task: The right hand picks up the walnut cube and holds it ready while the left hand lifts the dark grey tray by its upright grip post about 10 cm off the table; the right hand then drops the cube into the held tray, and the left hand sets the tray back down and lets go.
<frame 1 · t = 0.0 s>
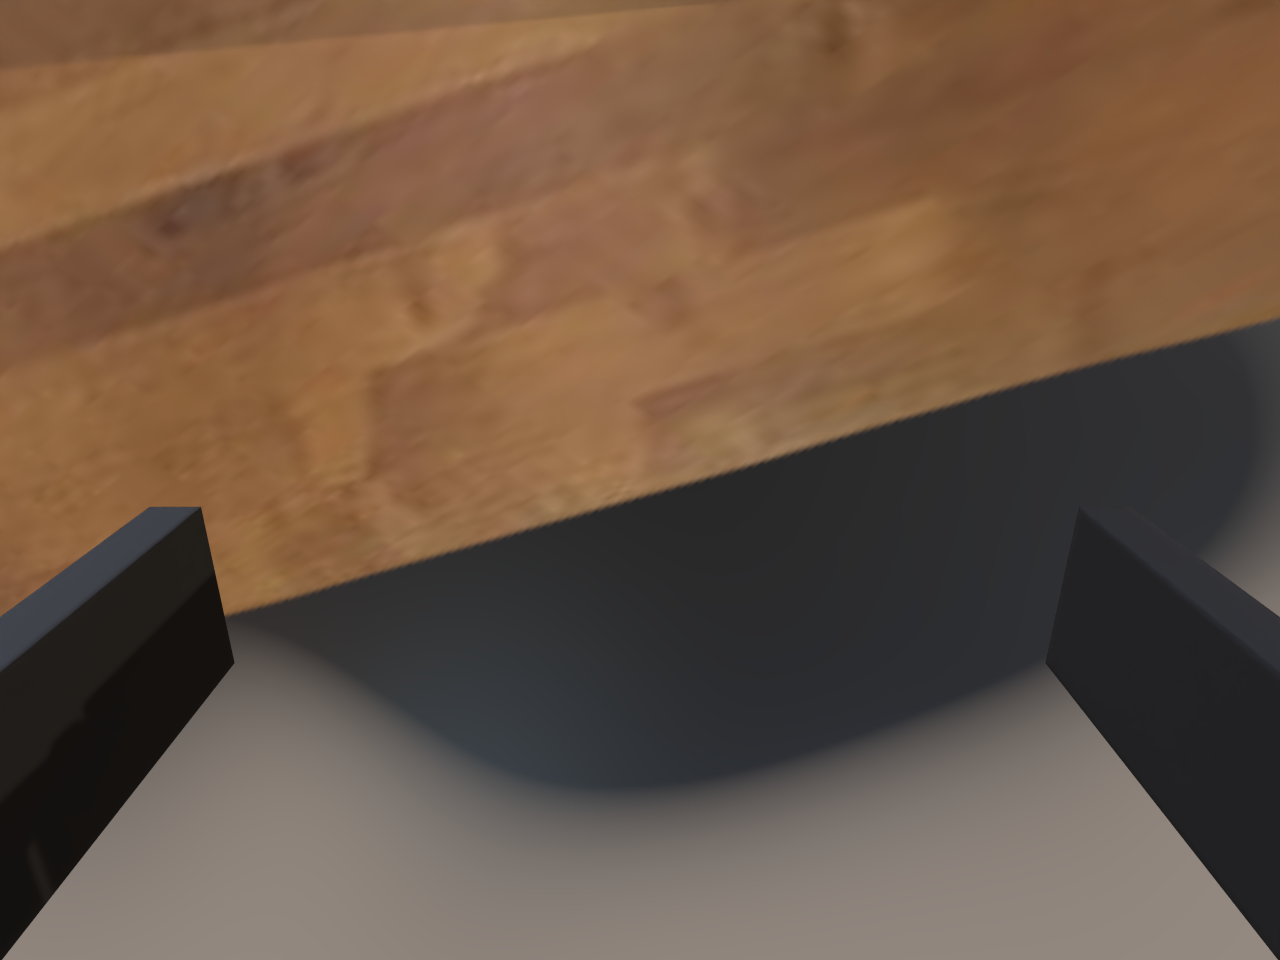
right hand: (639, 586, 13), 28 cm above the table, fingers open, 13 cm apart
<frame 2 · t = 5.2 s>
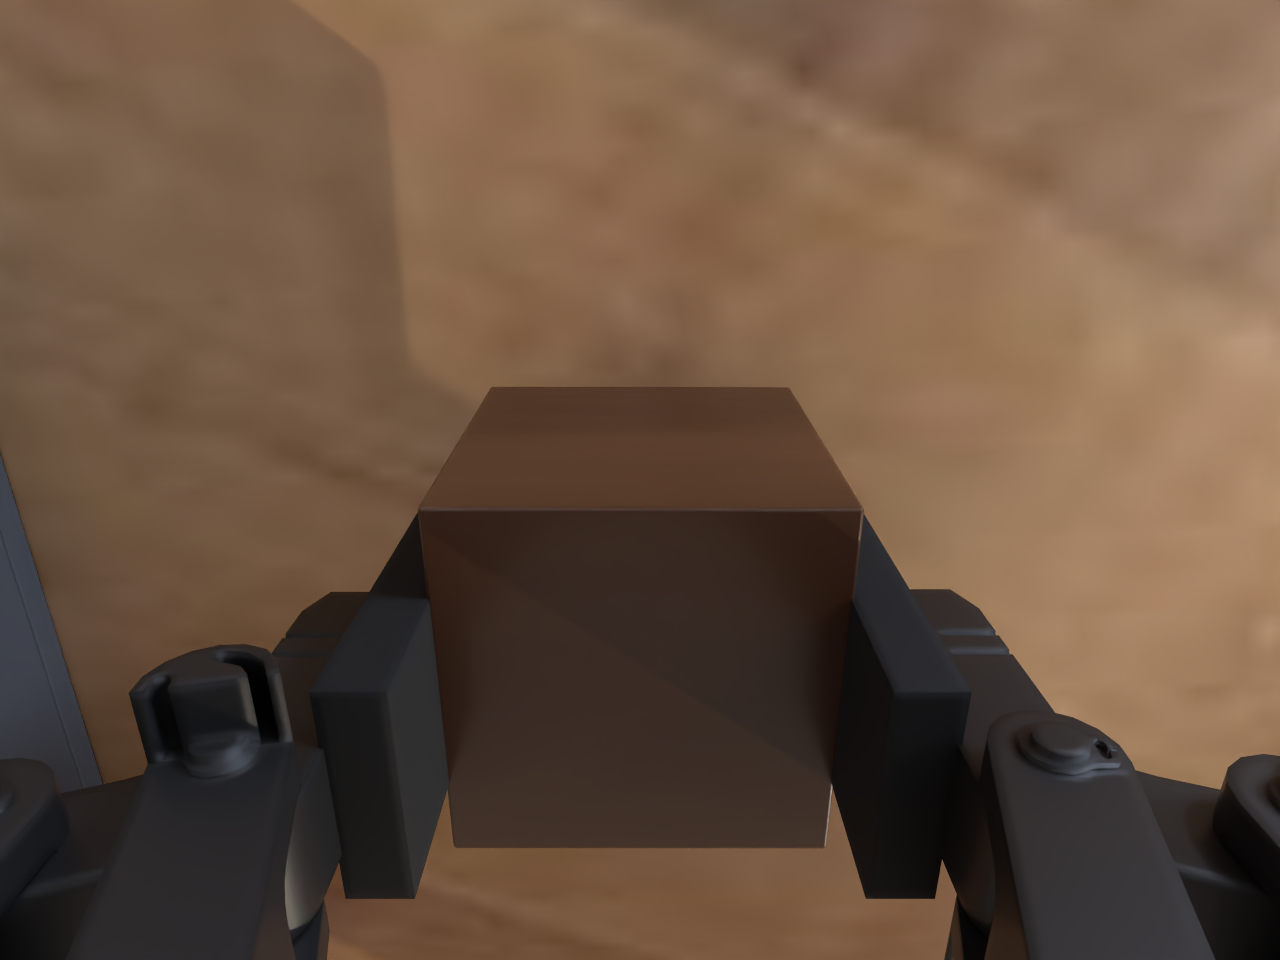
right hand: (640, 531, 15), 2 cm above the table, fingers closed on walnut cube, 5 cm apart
walnut cube: (640, 522, 15), point 2 cm above the table, touching right hand
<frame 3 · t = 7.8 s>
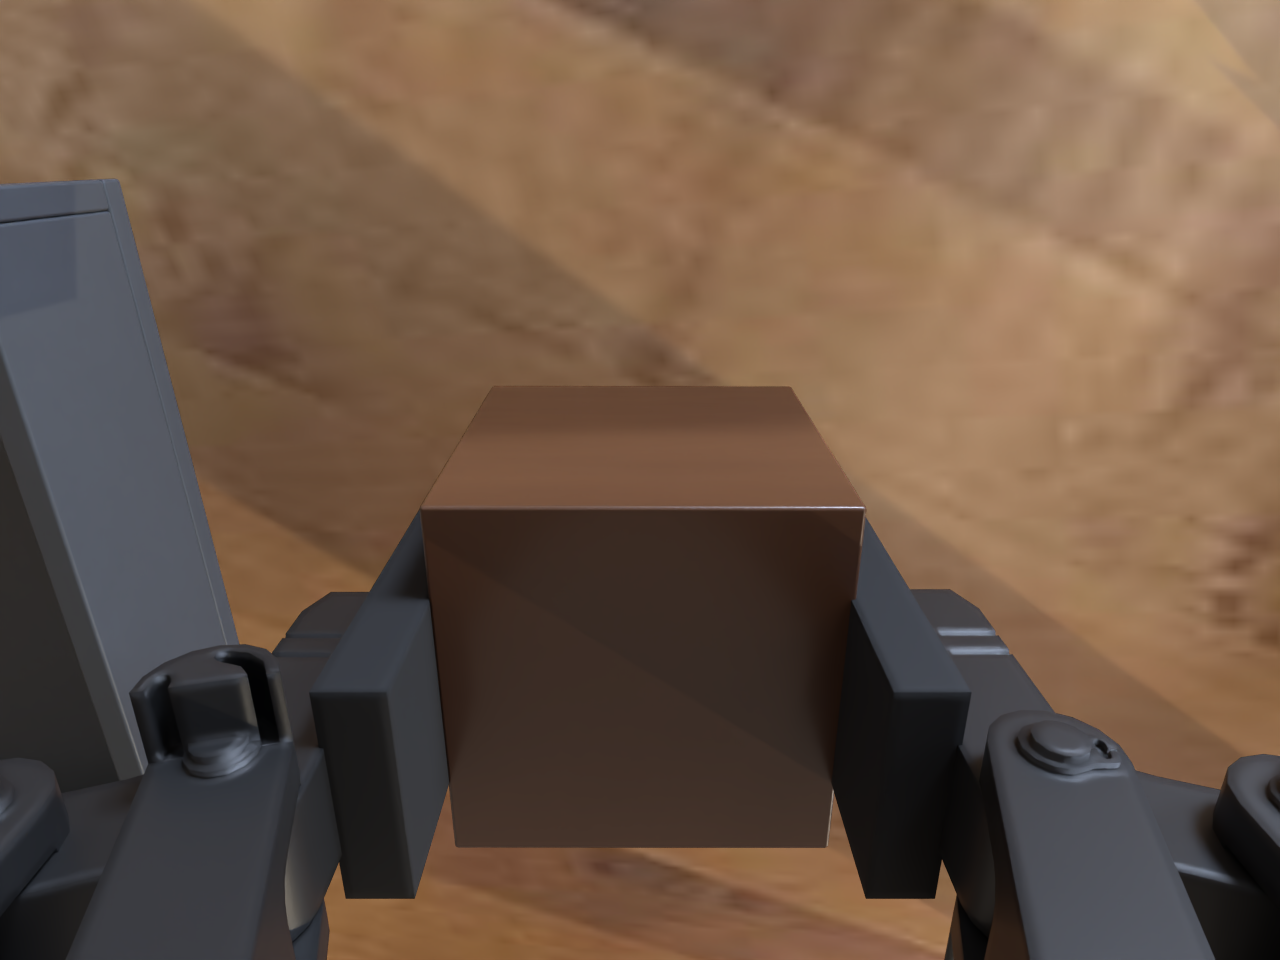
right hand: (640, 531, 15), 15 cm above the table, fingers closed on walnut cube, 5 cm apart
walnut cube: (641, 521, 15), point 15 cm above the table, touching right hand
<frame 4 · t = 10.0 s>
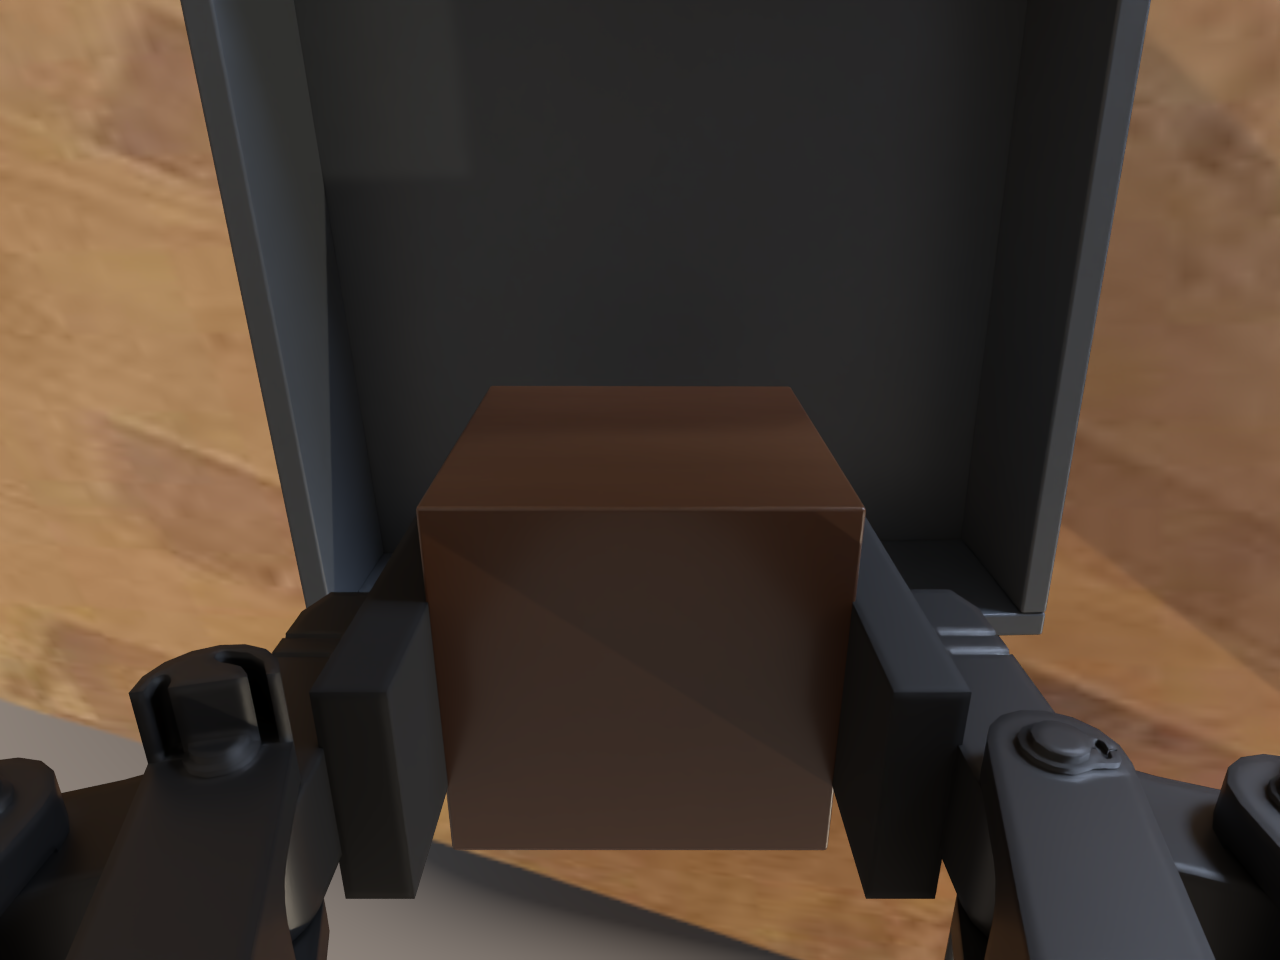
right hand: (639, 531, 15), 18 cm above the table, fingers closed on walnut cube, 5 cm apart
grey tray: (664, 246, 21), point 10 cm above the table, touching left hand
walnut cube: (640, 522, 15), point 18 cm above the table, touching right hand
when the right hand's fingers open (16 cm above the table, at t = 10.6 s): walnut cube drops 6 cm, resting on grey tray.
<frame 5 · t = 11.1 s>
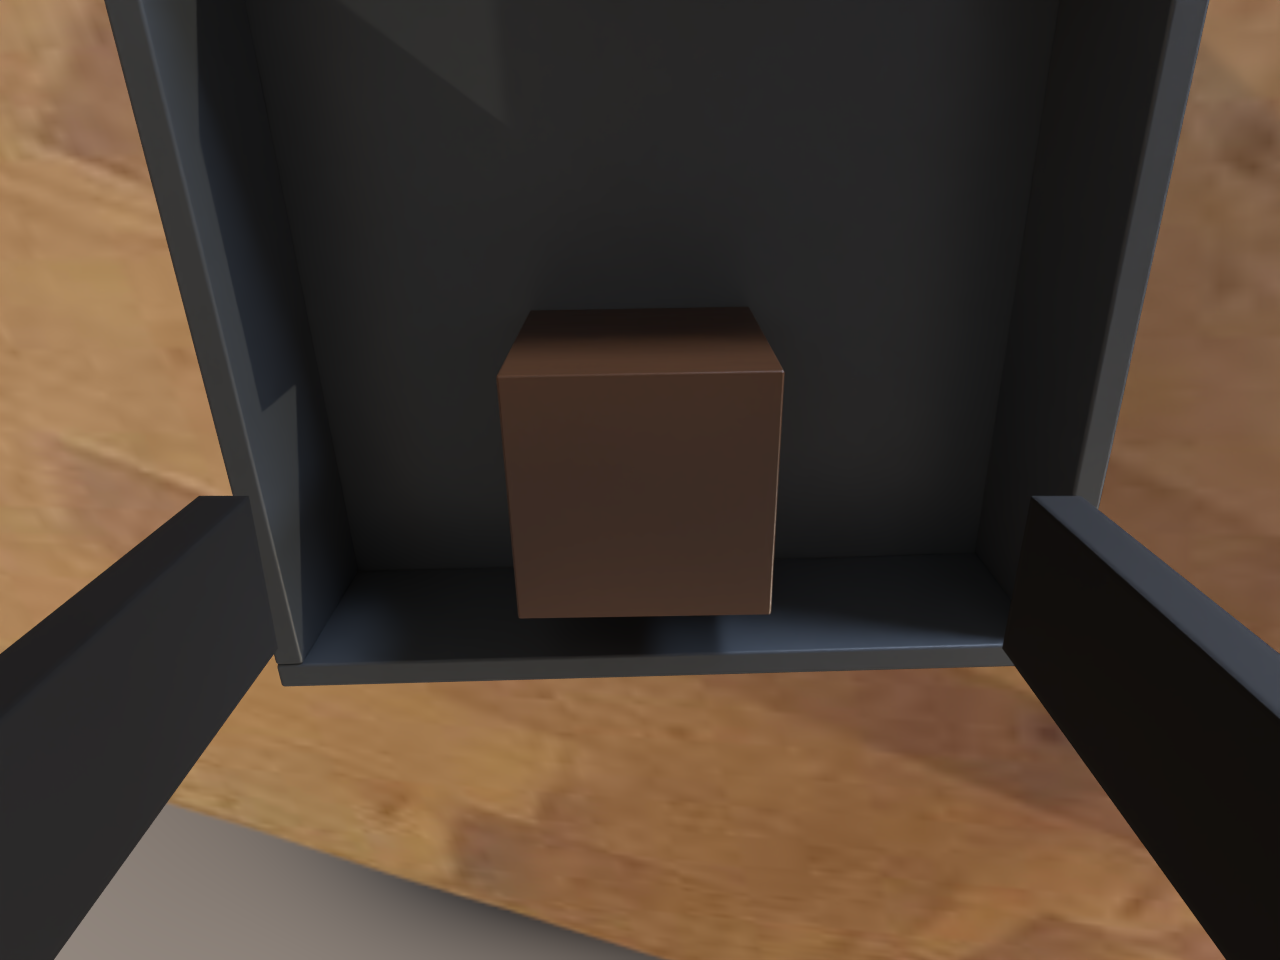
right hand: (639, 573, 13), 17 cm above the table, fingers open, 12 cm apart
grey tray: (657, 241, 19), point 9 cm above the table, touching left hand, walnut cube
walnut cube: (641, 412, 20), point 10 cm above the table, touching grey tray
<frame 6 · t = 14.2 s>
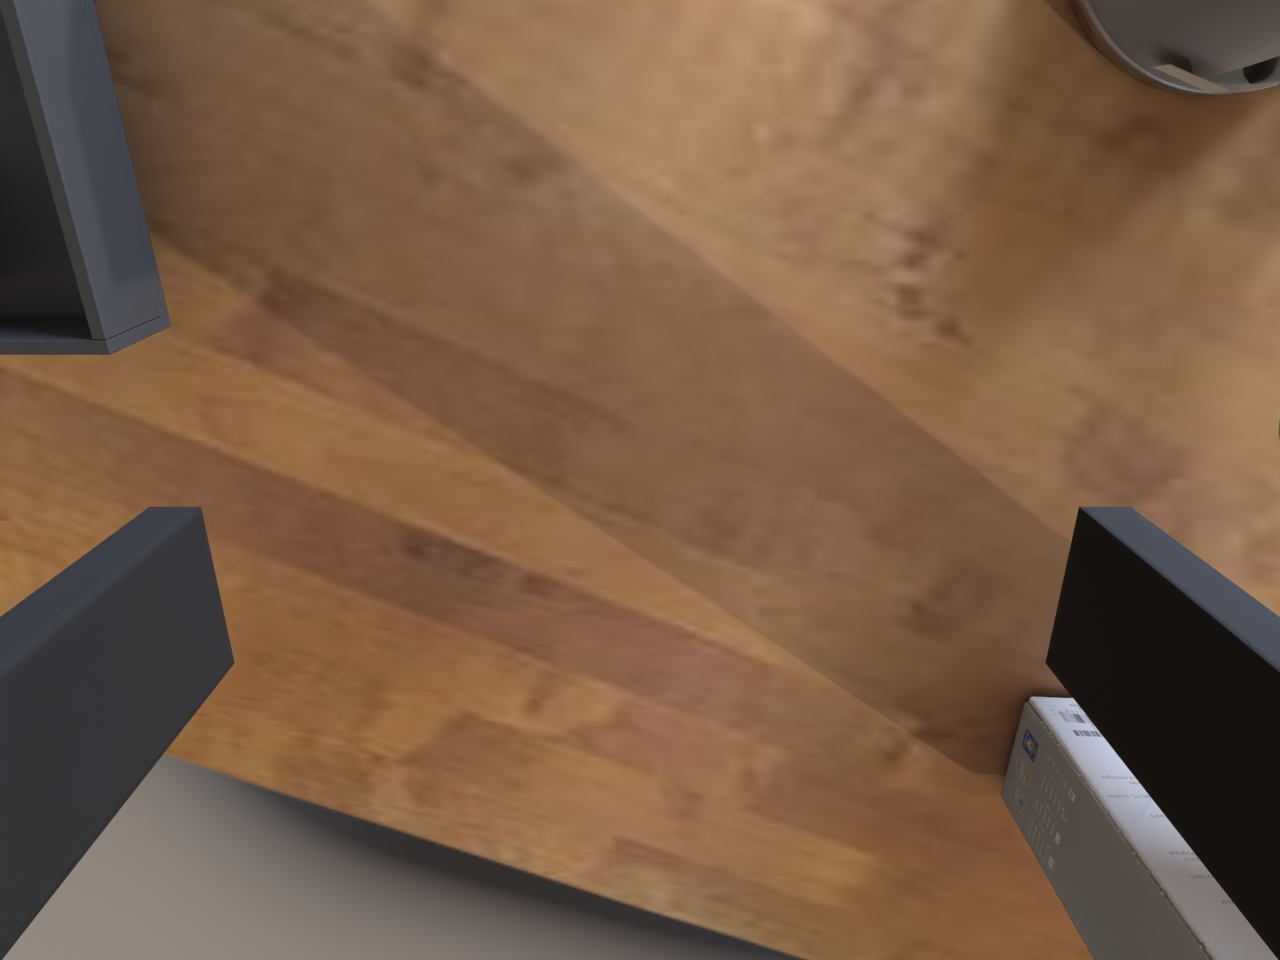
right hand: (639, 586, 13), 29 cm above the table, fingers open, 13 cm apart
hard drive box: (1136, 748, 49), on the table
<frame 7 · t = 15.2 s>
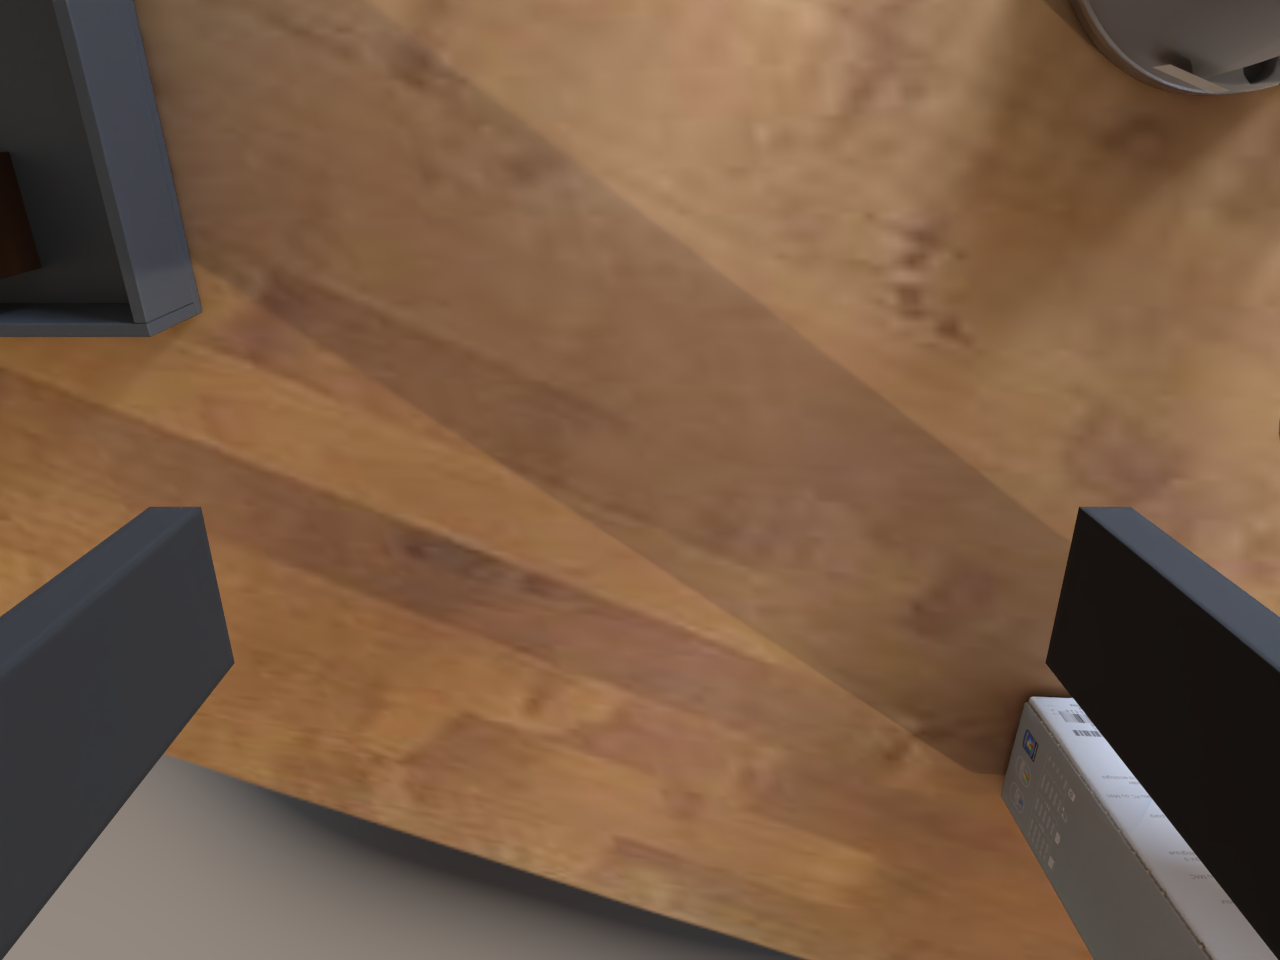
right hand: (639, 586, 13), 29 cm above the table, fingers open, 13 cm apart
hard drive box: (1136, 748, 49), on the table
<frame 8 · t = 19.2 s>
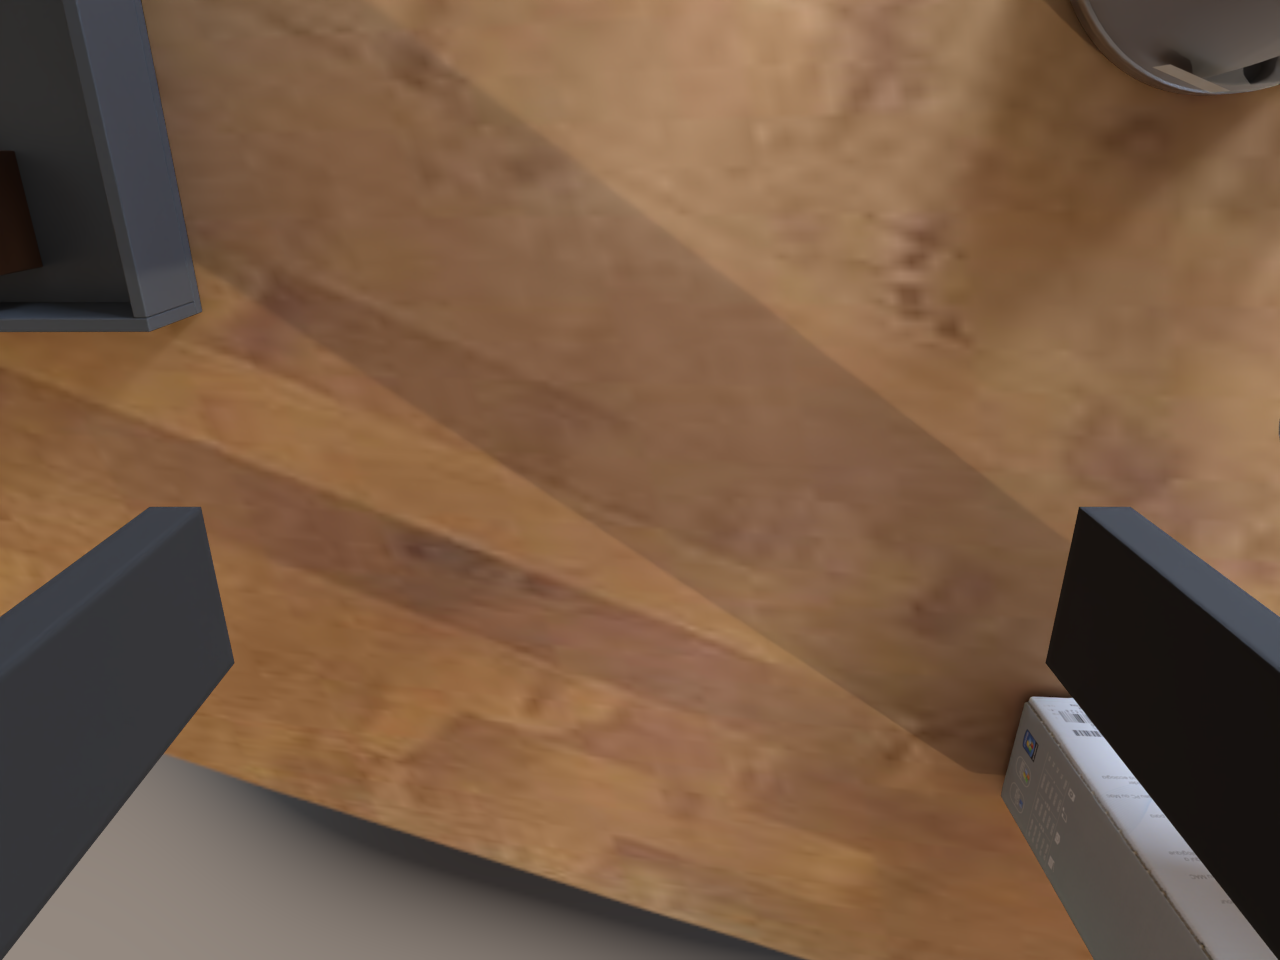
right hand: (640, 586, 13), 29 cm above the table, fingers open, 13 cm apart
hard drive box: (1136, 748, 49), on the table
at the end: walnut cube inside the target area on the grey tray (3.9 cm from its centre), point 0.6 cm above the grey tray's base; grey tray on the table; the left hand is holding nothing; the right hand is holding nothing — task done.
